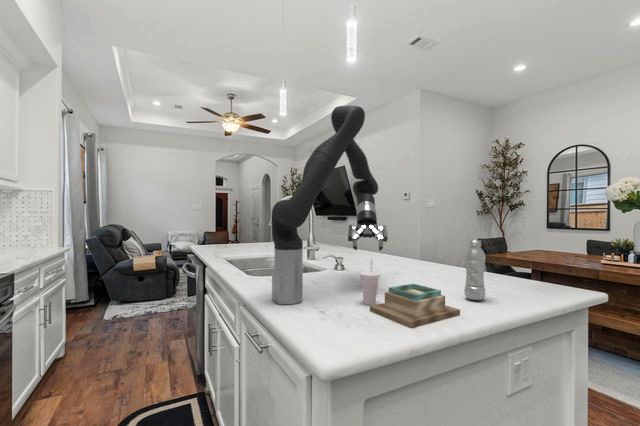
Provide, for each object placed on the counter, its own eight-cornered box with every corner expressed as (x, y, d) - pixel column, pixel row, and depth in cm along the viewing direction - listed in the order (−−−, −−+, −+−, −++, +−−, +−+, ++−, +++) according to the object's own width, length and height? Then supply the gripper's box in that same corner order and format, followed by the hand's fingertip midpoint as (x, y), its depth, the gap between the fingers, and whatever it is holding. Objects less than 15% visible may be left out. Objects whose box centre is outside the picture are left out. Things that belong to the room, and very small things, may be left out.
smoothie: (379, 307, 99) (379, 261, 99) (358, 305, 101) (358, 261, 101) (379, 301, 106) (380, 258, 106) (360, 300, 107) (360, 258, 107)
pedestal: (411, 328, 82) (411, 300, 82) (369, 311, 95) (369, 287, 95) (460, 314, 92) (460, 290, 92) (416, 301, 106) (416, 279, 106)
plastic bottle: (464, 301, 106) (465, 240, 106) (463, 296, 112) (464, 239, 112) (486, 303, 103) (487, 241, 103) (484, 298, 110) (485, 239, 109)
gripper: (348, 209, 123) (347, 242, 111) (386, 209, 121) (389, 242, 110) (348, 222, 128) (347, 255, 117) (384, 222, 127) (387, 255, 115)
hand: (368, 249), depth 113 cm, fingers open, 8 cm apart
